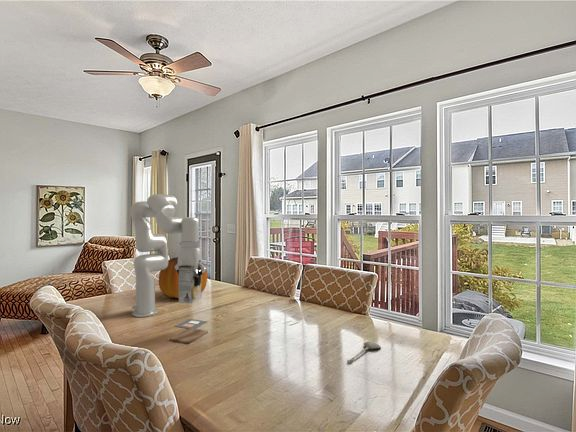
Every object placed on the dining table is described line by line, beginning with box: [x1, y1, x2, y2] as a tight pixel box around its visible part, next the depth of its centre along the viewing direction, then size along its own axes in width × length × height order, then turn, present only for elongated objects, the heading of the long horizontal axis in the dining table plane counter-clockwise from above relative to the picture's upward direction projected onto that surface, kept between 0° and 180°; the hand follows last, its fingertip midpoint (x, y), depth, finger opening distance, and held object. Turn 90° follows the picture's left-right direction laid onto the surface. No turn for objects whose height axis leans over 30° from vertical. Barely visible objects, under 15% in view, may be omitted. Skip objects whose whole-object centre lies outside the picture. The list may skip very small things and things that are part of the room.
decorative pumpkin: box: [158, 256, 208, 299], centre depth 204 cm, size 30×30×30 cm
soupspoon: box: [346, 341, 382, 365], centre depth 121 cm, size 22×3×7 cm
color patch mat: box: [175, 318, 208, 329], centre depth 152 cm, size 11×11×1 cm
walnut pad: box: [169, 328, 209, 345], centre depth 137 cm, size 10×13×1 cm
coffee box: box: [178, 266, 202, 305], centre depth 139 cm, size 9×6×16 cm
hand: (190, 284), depth 139 cm, fingers closed on coffee box, 7 cm apart
